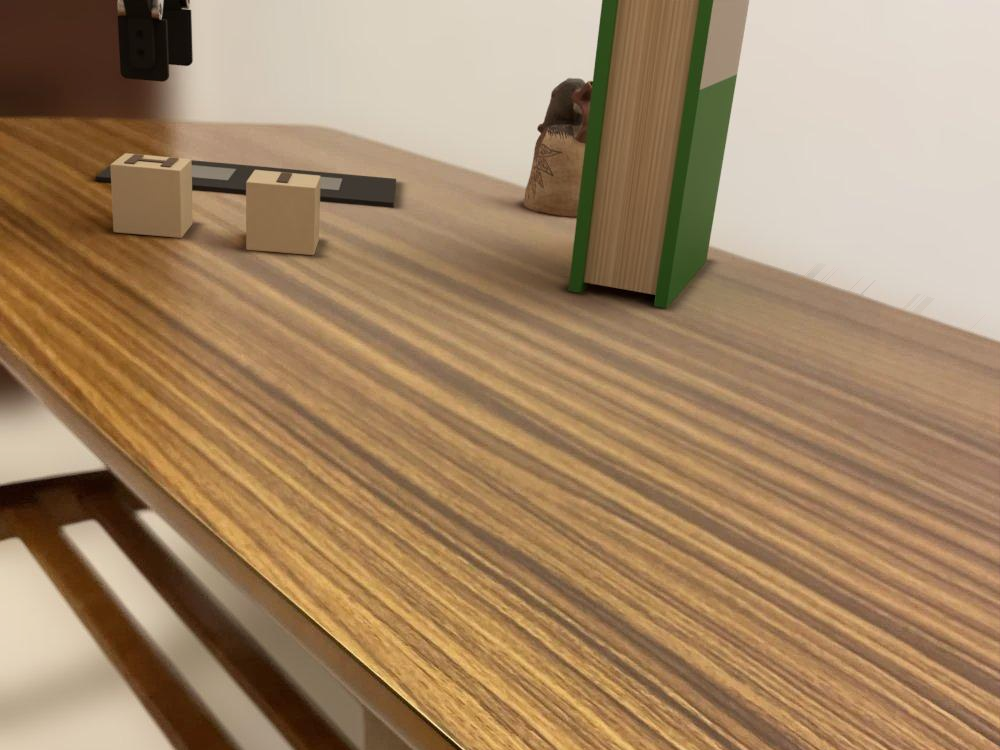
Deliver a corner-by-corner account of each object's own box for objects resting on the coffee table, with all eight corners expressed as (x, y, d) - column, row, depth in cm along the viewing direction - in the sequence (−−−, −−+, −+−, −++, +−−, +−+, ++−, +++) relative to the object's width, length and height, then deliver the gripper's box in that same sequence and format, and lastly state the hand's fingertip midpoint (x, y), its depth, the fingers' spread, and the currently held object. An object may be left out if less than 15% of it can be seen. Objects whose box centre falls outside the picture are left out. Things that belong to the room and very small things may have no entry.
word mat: (95, 180, 108) (95, 175, 108) (125, 158, 119) (125, 153, 119) (393, 207, 111) (393, 201, 111) (395, 182, 122) (396, 177, 122)
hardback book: (666, 308, 89) (722, -59, 79) (568, 290, 91) (610, -71, 80) (706, 261, 105) (757, -51, 94) (622, 246, 106) (663, -62, 96)
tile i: (246, 250, 92) (246, 180, 90) (254, 235, 96) (254, 168, 94) (314, 255, 92) (315, 186, 90) (319, 240, 97) (320, 174, 95)
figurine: (572, 200, 123) (587, 73, 118) (612, 216, 118) (629, 84, 113) (511, 201, 119) (523, 70, 114) (550, 218, 114) (564, 81, 109)
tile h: (113, 232, 92) (110, 162, 90) (127, 218, 97) (124, 151, 95) (181, 238, 93) (180, 168, 91) (192, 224, 97) (191, 157, 95)
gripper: (118, -195, 90) (131, 54, 98) (55, -217, 75) (75, 81, 82) (223, -184, 91) (227, 63, 99) (182, -203, 76) (191, 91, 83)
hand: (158, 71), depth 90 cm, fingers open, 9 cm apart
